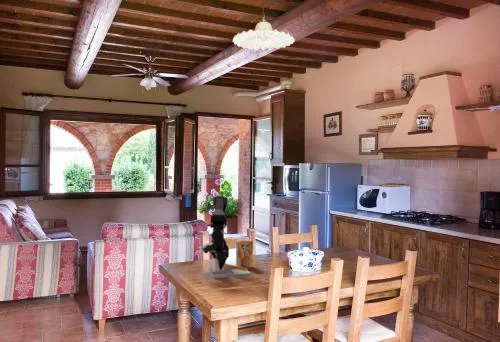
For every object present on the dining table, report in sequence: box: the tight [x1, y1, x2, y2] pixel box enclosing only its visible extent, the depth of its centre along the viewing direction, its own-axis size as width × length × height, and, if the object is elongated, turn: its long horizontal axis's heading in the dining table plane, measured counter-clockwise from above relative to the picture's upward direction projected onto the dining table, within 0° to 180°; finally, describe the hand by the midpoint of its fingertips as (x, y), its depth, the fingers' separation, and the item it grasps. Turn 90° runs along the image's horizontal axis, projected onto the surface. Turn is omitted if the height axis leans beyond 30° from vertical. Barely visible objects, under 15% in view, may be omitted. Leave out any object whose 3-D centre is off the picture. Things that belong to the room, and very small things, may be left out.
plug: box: [209, 257, 228, 274], centre depth 224 cm, size 7×7×9 cm
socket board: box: [199, 269, 255, 281], centre depth 226 cm, size 13×26×4 cm, turn 109°
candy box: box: [235, 239, 254, 269], centre depth 246 cm, size 9×4×15 cm, turn 110°
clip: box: [223, 263, 248, 271], centre depth 226 cm, size 19×2×1 cm, turn 52°
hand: (218, 267), depth 224 cm, fingers open, 9 cm apart
